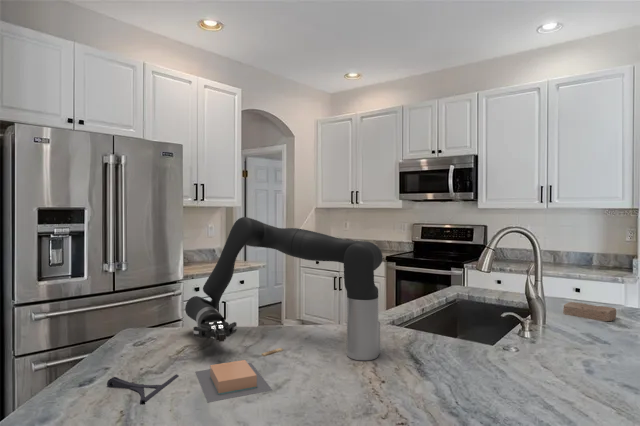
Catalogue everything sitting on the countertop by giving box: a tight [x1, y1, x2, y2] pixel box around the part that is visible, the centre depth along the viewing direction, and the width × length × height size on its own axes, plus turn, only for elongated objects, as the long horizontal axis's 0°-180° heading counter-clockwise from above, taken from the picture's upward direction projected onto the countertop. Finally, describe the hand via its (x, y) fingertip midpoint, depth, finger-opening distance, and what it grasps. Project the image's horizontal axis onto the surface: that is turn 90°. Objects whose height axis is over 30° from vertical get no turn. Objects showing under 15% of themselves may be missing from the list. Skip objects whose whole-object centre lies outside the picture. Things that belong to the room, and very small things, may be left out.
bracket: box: [106, 373, 180, 405], centre depth 102 cm, size 14×15×3 cm
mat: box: [195, 362, 273, 403], centre depth 105 cm, size 15×19×1 cm
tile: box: [209, 359, 257, 395], centre depth 104 cm, size 9×3×11 cm
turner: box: [261, 347, 284, 357], centre depth 123 cm, size 13×3×1 cm, turn 134°
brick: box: [562, 301, 617, 322], centre depth 168 cm, size 16×8×5 cm, turn 40°
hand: (221, 338), depth 115 cm, fingers closed
